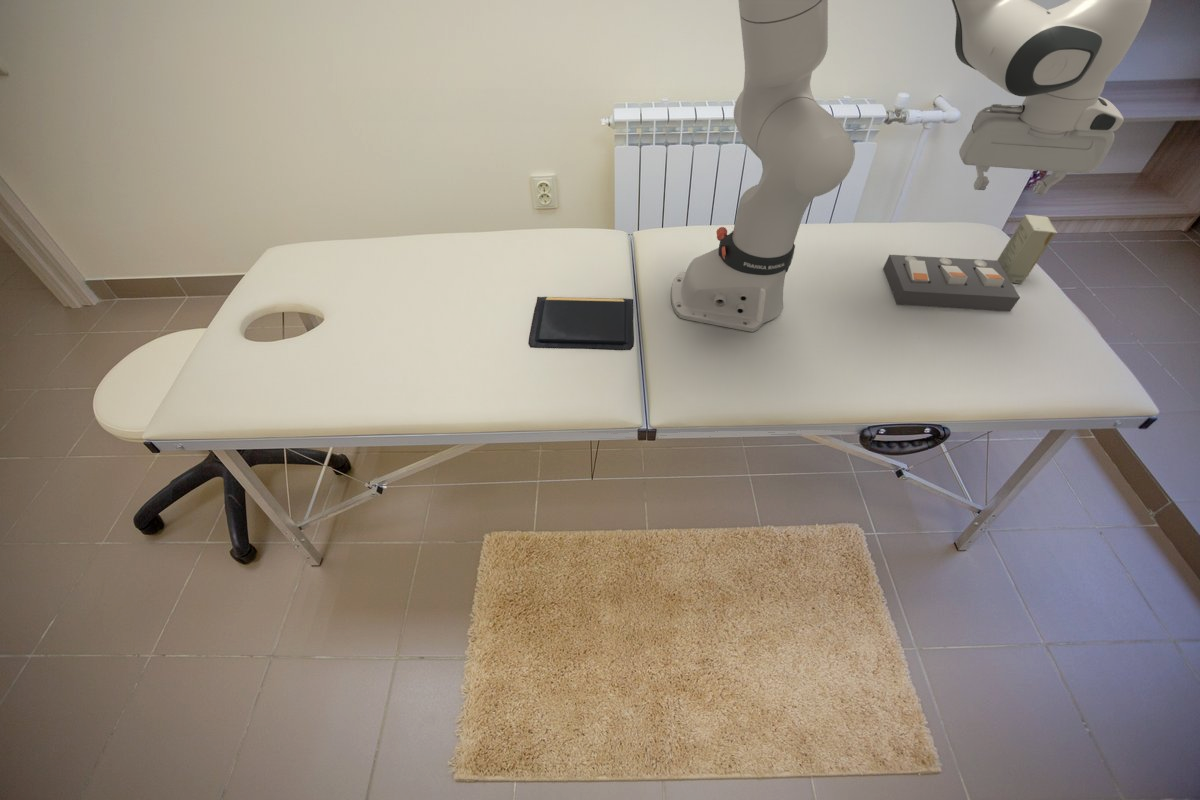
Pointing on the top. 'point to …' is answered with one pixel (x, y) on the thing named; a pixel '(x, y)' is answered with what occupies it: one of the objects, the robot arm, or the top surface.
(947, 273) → the rocker middle
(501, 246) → the top surface
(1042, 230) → the skincare box
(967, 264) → the switch panel
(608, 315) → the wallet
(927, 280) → the rocker left
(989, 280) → the rocker right
